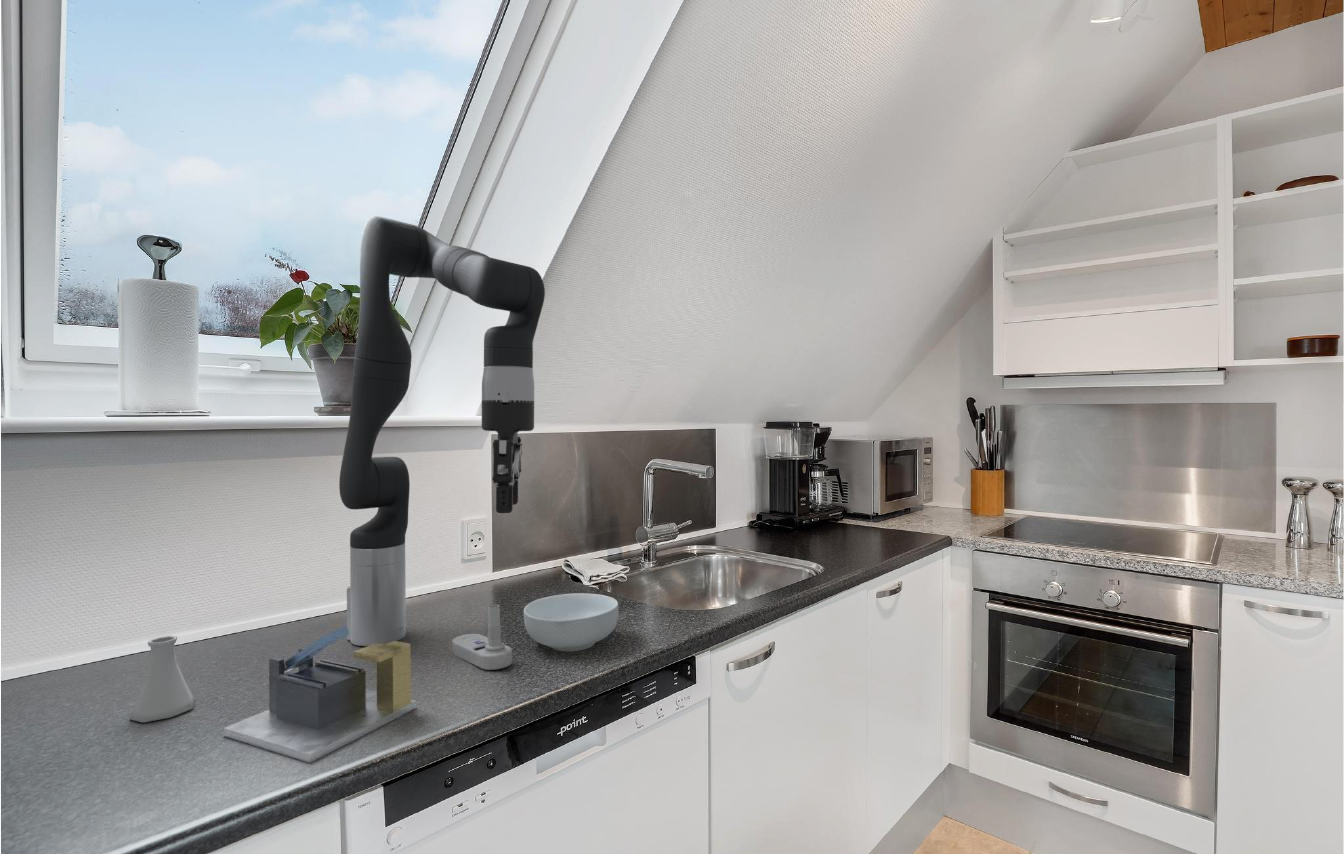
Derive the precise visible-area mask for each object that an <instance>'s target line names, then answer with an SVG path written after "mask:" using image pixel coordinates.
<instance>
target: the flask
mask: <svg viewBox="0 0 1344 854" xmlns="http://www.w3.org/2000/svg"><path fill="white" fill-rule="evenodd" d="M177 641H178V636H176V635H172V634H171V635H165V636H164V635H163V636H157V637H154V638H151V639H149V640H148V642H147V645H148V647H150V659H149V664H148V670H147V672H146V675H145V678H144V681H143V684H142V686H141V689H140V691H139V694H138V697H137V699H136V702H135V704H134V706H133V709H132V711H131V714H130V717H129V720H131V721H136V722H139V723H148V722H152V721H157V720H159V721H160V720H163V719H169V718H172V717H175V716H178V715H180V714H182V713H186V712H188V711H190V710H193V709H194V708H195V707H194V706H195V703H196V700H195V698H194V696H193V694H192V692H191V690H190V688H189V685H188V684H187V681H186V680H185V677H184V675H183V674H182V671H181V668H180V666H179V664H178V660H177V656H176V651H175V649H176V648H175V643H176V642H177Z"/></svg>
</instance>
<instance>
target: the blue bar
mask: <svg viewBox="0 0 1344 854" xmlns="http://www.w3.org/2000/svg"><path fill="white" fill-rule="evenodd" d="M348 634H349V631H348V629H347V626H344V627H342V628H338V629H335V630H333V631H330V632H328V633H326V634H325V635H324V636H322V637H320V638H318V640H316V641H314V642H313V643H311V644H310V645H308V646H307V647H305V649H304V650H302V651H300V652H299V651H298V652H297V653H296V654H294V655H292V656H291V657H290V658H288V659H286V660H284V673H287V672H290V671H291V670H294V669H296V668H299V667H300V666H303V665H304V662H306V661H307V660H309V659H311V658H312V657H313V658H314V657H315V656H317V655H318V654H320V653H322V652H323V651H325V650H326V649H328V648H329V647H331V646H333V645H334V644H336V643H337V642H339V641H341V640H342V639H343V638H345V637H347V635H348Z"/></svg>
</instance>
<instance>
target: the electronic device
mask: <svg viewBox="0 0 1344 854" xmlns="http://www.w3.org/2000/svg"><path fill="white" fill-rule="evenodd" d="M487 610H488V611H487V612H488V613H487V614H488V616H487V617H488V625H487V636H485V635H482V634H480V633H466V634H463V635H458V636H456V637H454V638H453V639H451V649H452V650H451V652H452V655H455V656H456V657H458V658H460V659H462V660H464V661H466V662H468V663H470V664H471V665H473V666H476V667H477V668H480V669H482V670H485V671H486V670H488V671H492V670H493V671H494V670H500V669H501V670H502V669H504V668H507V667H509V666H511V664H512V663H513V649H512V648H511V647H510V646H508V645H505V643H504V642H502V637H501V636H502V625H501V617H500V616H501V615H500V613H501V611H500V610H501V609H500V604H492V605H489V606H488V607H487Z"/></svg>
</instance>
